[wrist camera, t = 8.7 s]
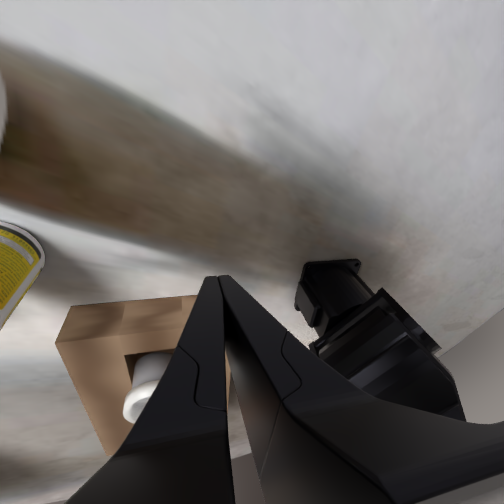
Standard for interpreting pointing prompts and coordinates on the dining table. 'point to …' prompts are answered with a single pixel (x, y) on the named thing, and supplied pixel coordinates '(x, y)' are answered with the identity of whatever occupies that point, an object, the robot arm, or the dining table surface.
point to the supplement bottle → (17, 267)
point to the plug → (144, 383)
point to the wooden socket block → (118, 354)
